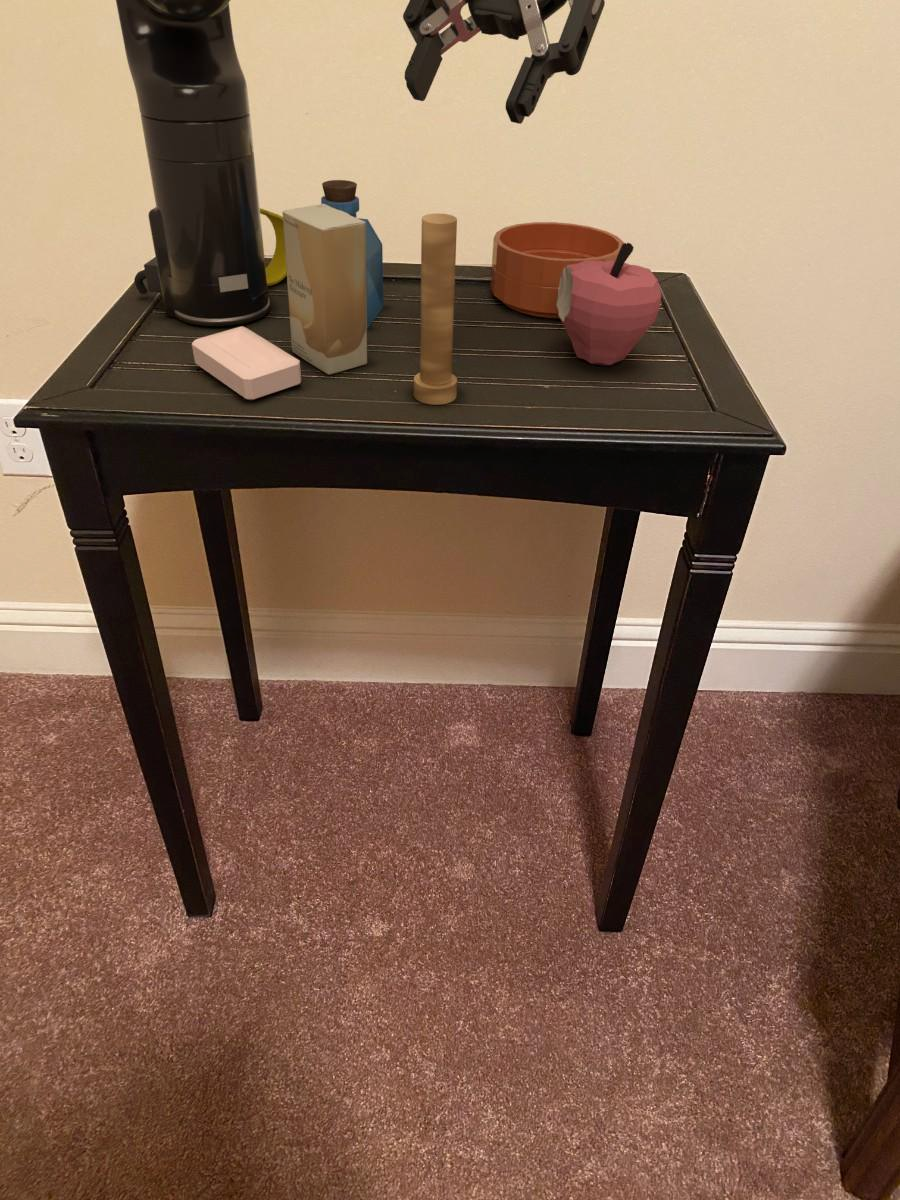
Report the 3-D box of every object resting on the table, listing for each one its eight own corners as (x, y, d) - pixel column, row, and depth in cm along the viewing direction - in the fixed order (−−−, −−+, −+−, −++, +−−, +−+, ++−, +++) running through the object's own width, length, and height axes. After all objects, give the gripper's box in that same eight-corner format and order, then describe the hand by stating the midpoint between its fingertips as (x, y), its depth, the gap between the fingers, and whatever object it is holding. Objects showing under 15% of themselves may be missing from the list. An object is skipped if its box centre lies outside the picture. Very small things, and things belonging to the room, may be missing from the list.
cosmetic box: (290, 353, 77) (277, 208, 69) (330, 342, 79) (322, 201, 72) (330, 377, 73) (321, 227, 66) (371, 365, 75) (367, 219, 68)
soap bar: (249, 404, 69) (245, 376, 67) (193, 365, 74) (188, 338, 72) (304, 385, 72) (302, 358, 70) (247, 348, 77) (243, 322, 75)
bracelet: (269, 286, 94) (287, 293, 92) (207, 268, 88) (225, 275, 86) (285, 218, 92) (304, 224, 90) (223, 194, 86) (242, 200, 84)
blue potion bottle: (366, 329, 82) (362, 195, 74) (305, 322, 83) (295, 189, 75) (383, 307, 87) (381, 179, 79) (324, 301, 88) (317, 173, 80)
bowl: (482, 315, 86) (486, 253, 82) (498, 274, 96) (502, 217, 92) (614, 327, 85) (624, 265, 81) (615, 284, 95) (624, 227, 91)
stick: (409, 402, 70) (410, 222, 61) (418, 384, 73) (419, 209, 64) (452, 407, 70) (459, 226, 61) (459, 388, 72) (467, 213, 64)
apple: (548, 338, 82) (560, 228, 76) (638, 341, 82) (657, 232, 76) (556, 380, 74) (570, 262, 68) (655, 384, 74) (678, 266, 68)
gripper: (452, -160, 61) (361, 53, 62) (635, -142, 56) (535, 89, 57) (483, -72, 68) (402, 118, 69) (649, -49, 63) (559, 155, 64)
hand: (462, 104), depth 63 cm, fingers open, 8 cm apart
